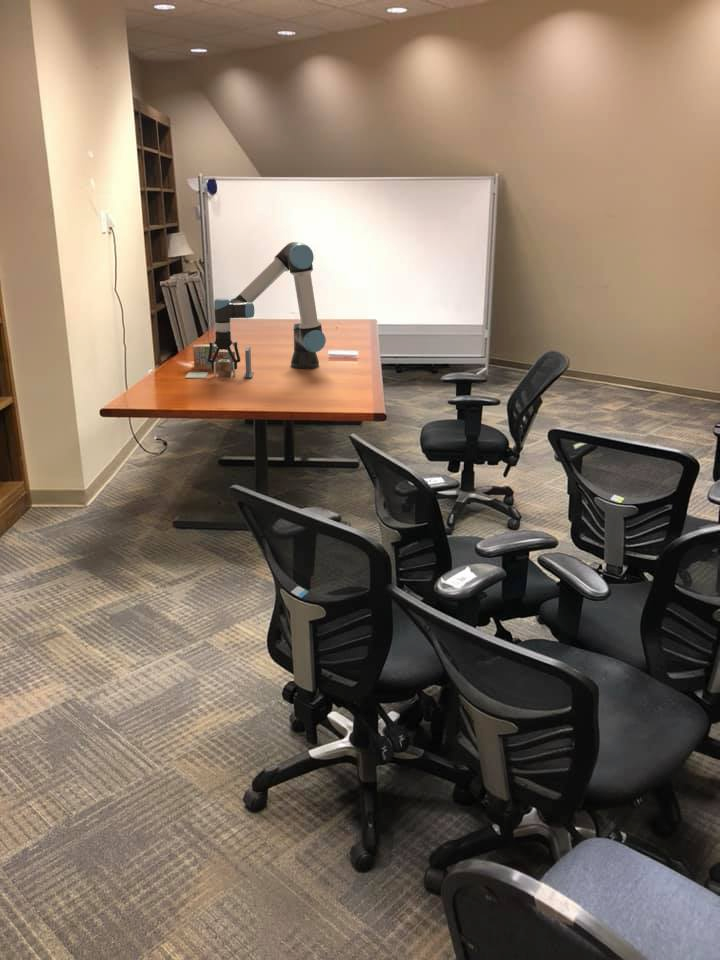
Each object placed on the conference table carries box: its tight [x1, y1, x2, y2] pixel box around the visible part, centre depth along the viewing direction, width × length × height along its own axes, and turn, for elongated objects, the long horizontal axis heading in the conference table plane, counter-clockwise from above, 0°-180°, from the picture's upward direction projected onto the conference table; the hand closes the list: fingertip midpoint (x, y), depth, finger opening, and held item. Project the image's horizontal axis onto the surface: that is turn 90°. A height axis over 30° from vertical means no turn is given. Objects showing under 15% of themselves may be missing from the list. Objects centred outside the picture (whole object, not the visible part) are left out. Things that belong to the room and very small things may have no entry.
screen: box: [243, 345, 255, 380], centre depth 383 cm, size 4×12×14 cm, turn 3°
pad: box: [184, 371, 209, 380], centre depth 384 cm, size 10×12×1 cm
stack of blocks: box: [192, 343, 236, 370], centre depth 401 cm, size 21×6×12 cm, turn 100°
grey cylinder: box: [217, 360, 233, 378], centre depth 384 cm, size 6×6×8 cm
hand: (224, 375), depth 385 cm, fingers open, 9 cm apart
